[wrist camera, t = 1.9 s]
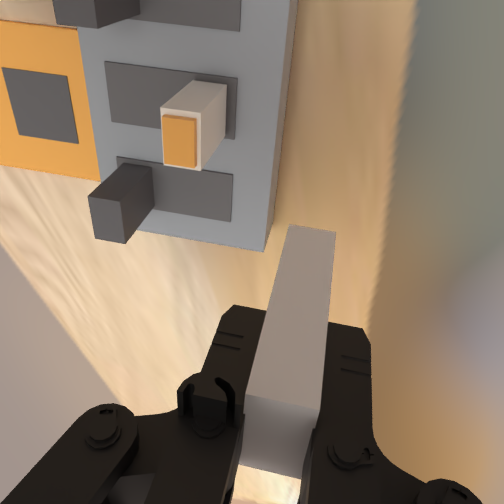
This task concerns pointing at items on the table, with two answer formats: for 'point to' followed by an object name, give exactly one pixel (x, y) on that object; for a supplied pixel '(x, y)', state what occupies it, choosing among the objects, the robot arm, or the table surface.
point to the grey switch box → (163, 89)
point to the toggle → (193, 124)
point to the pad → (44, 102)
